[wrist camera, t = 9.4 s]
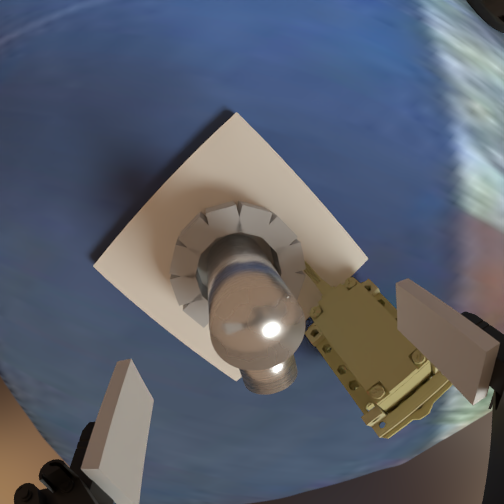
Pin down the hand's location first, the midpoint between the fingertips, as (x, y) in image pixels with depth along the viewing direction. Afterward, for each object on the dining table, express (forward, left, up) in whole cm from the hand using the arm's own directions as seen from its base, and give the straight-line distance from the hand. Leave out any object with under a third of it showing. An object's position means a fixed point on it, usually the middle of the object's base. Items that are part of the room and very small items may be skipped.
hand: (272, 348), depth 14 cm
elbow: (+1, +1, -14) cm, 14 cm away
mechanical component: (-3, +15, -16) cm, 22 cm away
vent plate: (0, 0, -15) cm, 15 cm away
